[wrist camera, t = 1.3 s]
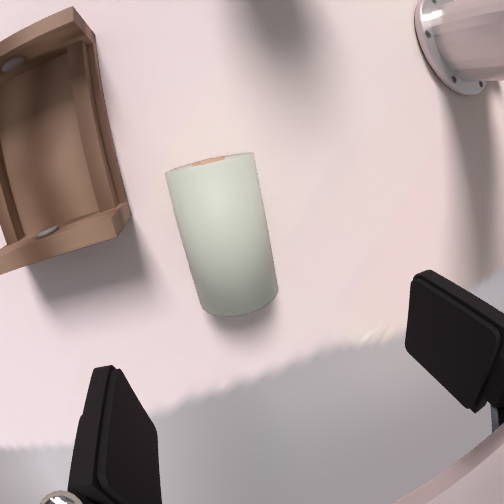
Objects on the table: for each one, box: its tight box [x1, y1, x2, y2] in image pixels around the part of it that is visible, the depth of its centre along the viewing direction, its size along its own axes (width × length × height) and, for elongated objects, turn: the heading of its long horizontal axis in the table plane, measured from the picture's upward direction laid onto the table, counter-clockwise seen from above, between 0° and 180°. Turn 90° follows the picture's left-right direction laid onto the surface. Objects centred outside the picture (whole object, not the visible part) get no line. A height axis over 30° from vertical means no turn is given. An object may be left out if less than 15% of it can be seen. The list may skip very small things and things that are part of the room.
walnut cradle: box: [0, 6, 131, 275], centre depth 16 cm, size 11×15×6 cm
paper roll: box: [165, 153, 278, 317], centre depth 22 cm, size 10×6×6 cm, turn 12°
